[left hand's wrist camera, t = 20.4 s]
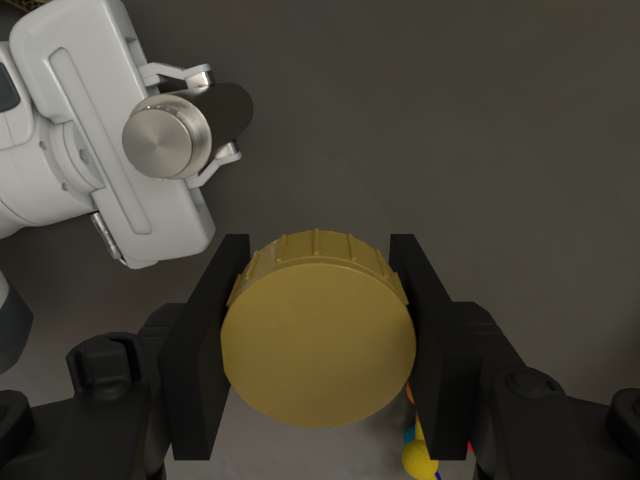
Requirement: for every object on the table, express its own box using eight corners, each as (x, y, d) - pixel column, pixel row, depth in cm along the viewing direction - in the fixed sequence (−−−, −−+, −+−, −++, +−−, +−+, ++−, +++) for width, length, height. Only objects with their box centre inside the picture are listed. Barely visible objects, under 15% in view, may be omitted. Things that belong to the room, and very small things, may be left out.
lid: (344, 398, 14) (348, 456, 11) (204, 330, 13) (182, 381, 11) (436, 281, 12) (461, 324, 10) (285, 194, 11) (277, 222, 9)
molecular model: (393, 359, 50) (516, 416, 38) (446, 378, 57) (563, 431, 45) (348, 484, 48) (463, 586, 36) (408, 487, 55) (520, 573, 43)
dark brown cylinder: (206, 78, 38) (108, 88, 19) (255, 87, 38) (206, 105, 20) (203, 128, 39) (110, 181, 21) (250, 136, 40) (200, 195, 21)
